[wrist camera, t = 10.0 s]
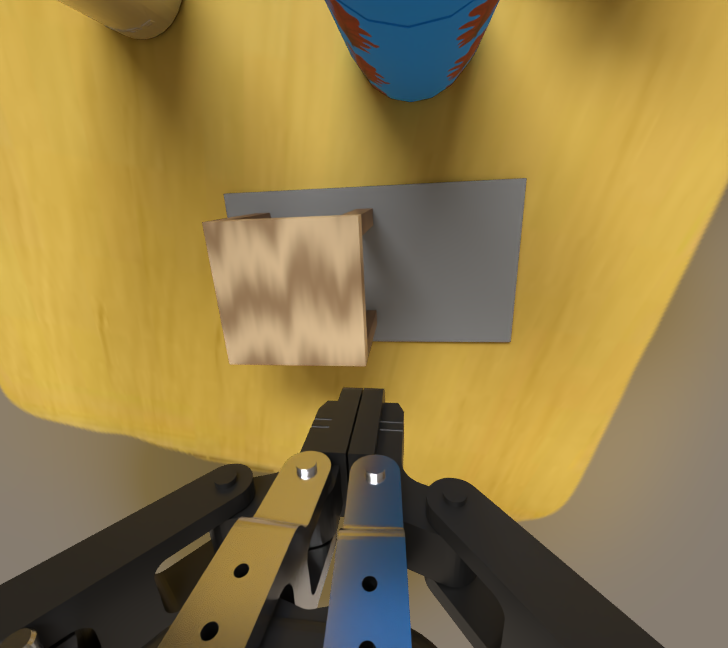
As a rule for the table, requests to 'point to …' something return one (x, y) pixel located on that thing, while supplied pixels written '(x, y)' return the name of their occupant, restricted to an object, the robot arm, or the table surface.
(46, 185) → the table surface
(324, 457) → the robot arm
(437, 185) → the mat
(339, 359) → the stool
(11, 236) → the table surface
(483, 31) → the thermos
